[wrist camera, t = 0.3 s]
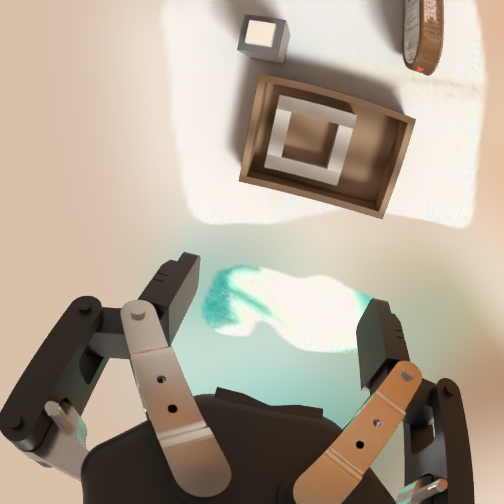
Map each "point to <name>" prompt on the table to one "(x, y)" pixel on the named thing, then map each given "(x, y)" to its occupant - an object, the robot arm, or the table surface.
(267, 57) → the connector
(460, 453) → the robot arm
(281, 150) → the box
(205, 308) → the table surface
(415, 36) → the tin
